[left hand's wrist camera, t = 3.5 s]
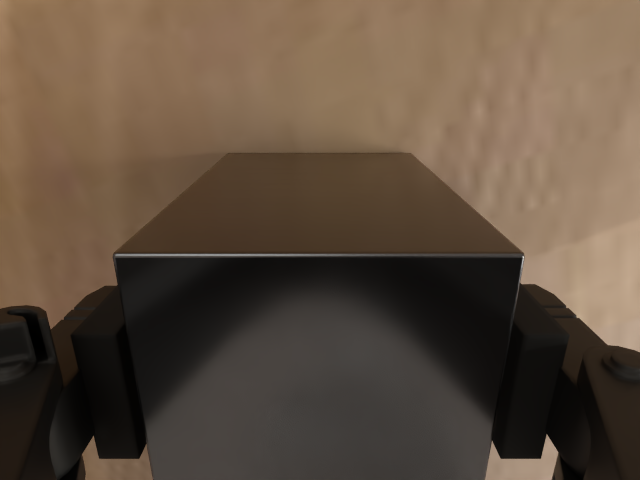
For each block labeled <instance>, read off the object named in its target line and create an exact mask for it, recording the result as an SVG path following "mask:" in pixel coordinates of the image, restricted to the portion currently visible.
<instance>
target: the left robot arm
mask: <svg viewBox="0 0 640 480" xmlns="http://www.w3.org/2000/svg"><path fill="white" fill-rule="evenodd" d="M546 434H547V435H548V436H549V438H550V439H551V441H552V443H553V444H554V446H555V447H556V449H557V451H558V452H559V453H558V457H557V461H556V465H555V469H554V473H553V477H552V480H640V352H637V351H635V350H631V349H627V348H623V347H619V346H610V345H607V344H606V343H605V342H604V341H603V340H602V339H600V338H599V337H598V336H597V335H596V334H595V333H594V332H593V331H592V330H591V329H590V328H589V327H588V326H587V325H586V324H585V323H584V322H583V321H582V320H580V319H579V318H576V315H575V314H574V313H573V312H572V311H571V310H570V309H569V308H566V305H565V304H564V303H563V302H561V301H560V300H559V299H558V298H557V297H556V296H555V295H554V294H552V293H550V292H549V291H547V290H545V289H543V288H541V287H539V286H537V285H535V284H521V283H520V286H519V291H518V297H517V302H516V308H515V314H514V319H513V325H512V330H511V336H510V342H509V347H508V353H507V358H506V364H505V370H504V375H503V381H502V386H501V392H500V398H499V403H498V409H497V414H496V420H495V426H494V431H493V437H492V441H493V443H494V445H495V447H496V450H497V452H498V454H499V456H500V458H501V459H541V456H542V451H543V447H544V443H545V439H546ZM93 435H94V438H95V443H96V447H97V451H98V456H99V459H139V458H140V456H141V454H142V452H143V450H144V447H145V445H146V437H145V432H144V426H143V421H142V415H141V410H140V404H139V399H138V393H137V388H136V382H135V377H134V371H133V366H132V360H131V355H130V349H129V343H128V338H127V332H126V327H125V321H124V316H123V310H122V305H121V299H120V294H119V288H118V285H117V286H104V287H102V288H100V289H99V290H97V291H95V292H93V293H91V294H89V295H87V296H86V297H85V298H84V299H83V300H82V301H81V302H80V303H79V304H77V305H76V306H75V307H74V310H71V311H70V312H69V313H68V314H67V315H66V316H65V317H64V320H61V321H60V322H59V323H58V324H57V325H55V326H54V327H53V328H52V329H51V330H50V326H49V322H48V318H47V314H46V311H44V310H43V309H41V308H40V307H35V306H28V305H25V306H11V307H6V308H2V309H0V480H85V475H86V473H85V465H84V461H83V457H82V453H83V452H84V450H85V448H86V447H87V445H88V443H89V442H90V440H91V439H92V437H93Z"/></svg>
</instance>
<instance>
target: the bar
mask: <svg viewBox="0 0 640 480" xmlns="http://www.w3.org/2000/svg"><path fill="white" fill-rule="evenodd" d="M524 258H525V257H524V253H523V252H522V251H521V250H520V249H519V248H517V247H516V246H515V245H514V244H513V243H512V242H511V241H510V240H508V239H507V238H506V237H505V236H504V235H503V234H502V233H500V232H499V231H498V230H497V229H496V228H495V227H494V226H493V225H491V224H490V223H489V222H488V221H487V220H486V219H485V218H484V217H482V216H481V215H480V214H479V213H478V212H477V211H476V210H475V209H473V208H472V207H471V206H470V205H469V204H468V203H467V202H465V201H464V200H463V199H462V198H461V197H460V196H459V195H458V194H456V193H455V192H454V191H453V190H452V189H451V188H450V187H449V186H447V185H446V184H445V183H444V182H443V181H442V180H441V179H440V178H438V177H437V176H436V175H435V174H434V173H433V172H432V171H430V170H429V169H428V168H427V167H426V166H425V165H424V164H423V163H421V162H420V161H419V160H418V159H417V158H416V157H415V156H414V155H412V154H411V153H228V154H226V155H225V156H224V157H223V158H222V159H221V160H220V161H218V162H217V163H216V164H215V165H214V166H213V167H212V168H210V169H209V170H208V171H207V172H206V173H205V174H204V175H202V176H201V177H200V178H199V179H198V180H197V181H196V182H194V183H193V184H192V185H191V186H190V187H189V188H188V189H186V190H185V191H184V192H183V193H182V194H181V195H180V196H178V197H177V198H176V199H175V200H174V201H173V202H172V203H170V204H169V205H168V206H167V207H166V208H165V209H164V210H162V211H161V212H160V213H159V214H158V215H157V216H156V217H154V218H153V219H152V220H151V221H150V222H149V223H148V224H146V225H145V226H144V227H143V228H142V229H141V230H140V231H138V232H137V233H136V234H135V235H134V236H133V237H132V238H130V239H129V240H128V241H127V242H126V243H125V244H124V245H122V246H121V247H120V248H119V249H118V250H117V251H116V252H114V254H113V261H114V266H115V272H116V277H117V283H118V288H119V294H120V299H121V305H122V310H123V316H124V321H125V327H126V332H127V338H128V343H129V349H130V355H131V360H132V366H133V371H134V377H135V382H136V388H137V393H138V399H139V404H140V410H141V415H142V421H143V426H144V432H145V437H146V443H147V449H148V454H149V460H150V465H151V471H152V476H153V480H485V476H486V470H487V465H488V459H489V454H490V448H491V442H492V437H493V431H494V426H495V420H496V414H497V409H498V403H499V398H500V392H501V386H502V381H503V375H504V370H505V364H506V358H507V353H508V347H509V342H510V336H511V330H512V325H513V319H514V314H515V308H516V302H517V297H518V291H519V286H520V280H521V274H522V269H523V263H524Z"/></svg>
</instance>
